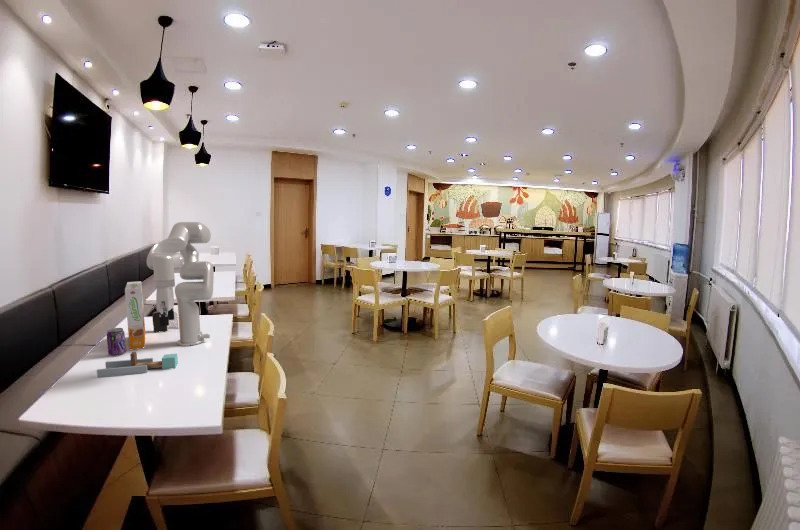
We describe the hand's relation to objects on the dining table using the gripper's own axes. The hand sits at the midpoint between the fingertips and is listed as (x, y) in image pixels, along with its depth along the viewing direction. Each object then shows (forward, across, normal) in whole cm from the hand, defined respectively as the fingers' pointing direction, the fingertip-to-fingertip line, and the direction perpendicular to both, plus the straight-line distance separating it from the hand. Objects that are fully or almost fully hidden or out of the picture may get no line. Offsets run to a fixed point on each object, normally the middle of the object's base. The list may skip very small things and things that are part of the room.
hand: (167, 322), depth 182 cm
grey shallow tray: (+20, 0, -17) cm, 26 cm away
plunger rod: (+20, 0, -9) cm, 22 cm away
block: (+20, 0, 0) cm, 20 cm away
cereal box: (+20, -41, -24) cm, 52 cm away
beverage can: (+20, -24, -28) cm, 42 cm away
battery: (+20, -60, -18) cm, 66 cm away
